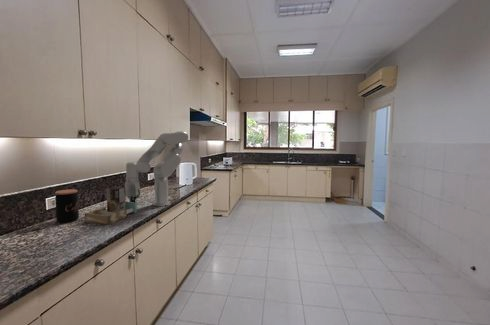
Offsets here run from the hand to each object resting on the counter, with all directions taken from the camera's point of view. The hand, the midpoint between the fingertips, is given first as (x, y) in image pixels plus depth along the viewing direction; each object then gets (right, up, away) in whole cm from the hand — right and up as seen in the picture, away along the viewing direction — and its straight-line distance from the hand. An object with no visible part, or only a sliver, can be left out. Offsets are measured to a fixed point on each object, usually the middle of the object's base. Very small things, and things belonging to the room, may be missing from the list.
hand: (132, 205), depth 164 cm
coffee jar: (-27, -5, -26) cm, 37 cm away
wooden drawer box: (-5, -5, -22) cm, 23 cm away
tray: (-3, -3, -13) cm, 14 cm away
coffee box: (-3, -2, -15) cm, 15 cm away
